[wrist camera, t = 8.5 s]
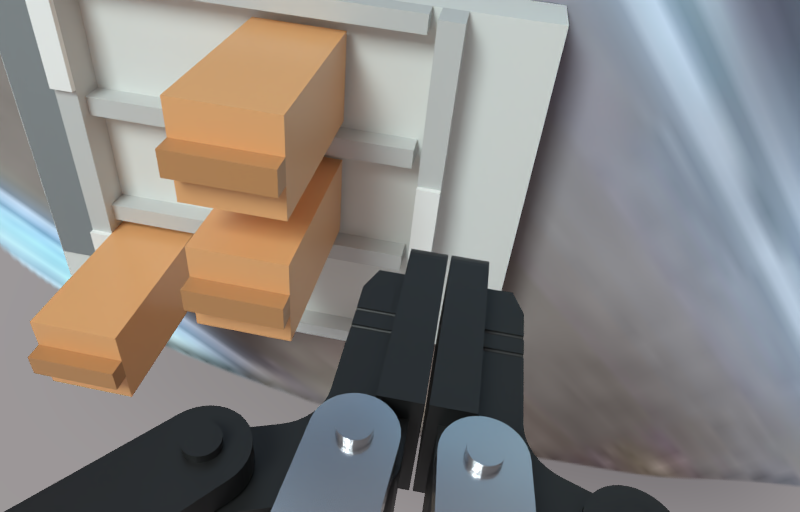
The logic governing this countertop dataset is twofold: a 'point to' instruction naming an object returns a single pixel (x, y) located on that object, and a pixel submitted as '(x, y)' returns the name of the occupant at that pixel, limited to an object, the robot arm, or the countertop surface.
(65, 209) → the switch bank
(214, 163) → the tab
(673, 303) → the countertop surface
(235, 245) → the tab
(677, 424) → the countertop surface
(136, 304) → the tab
